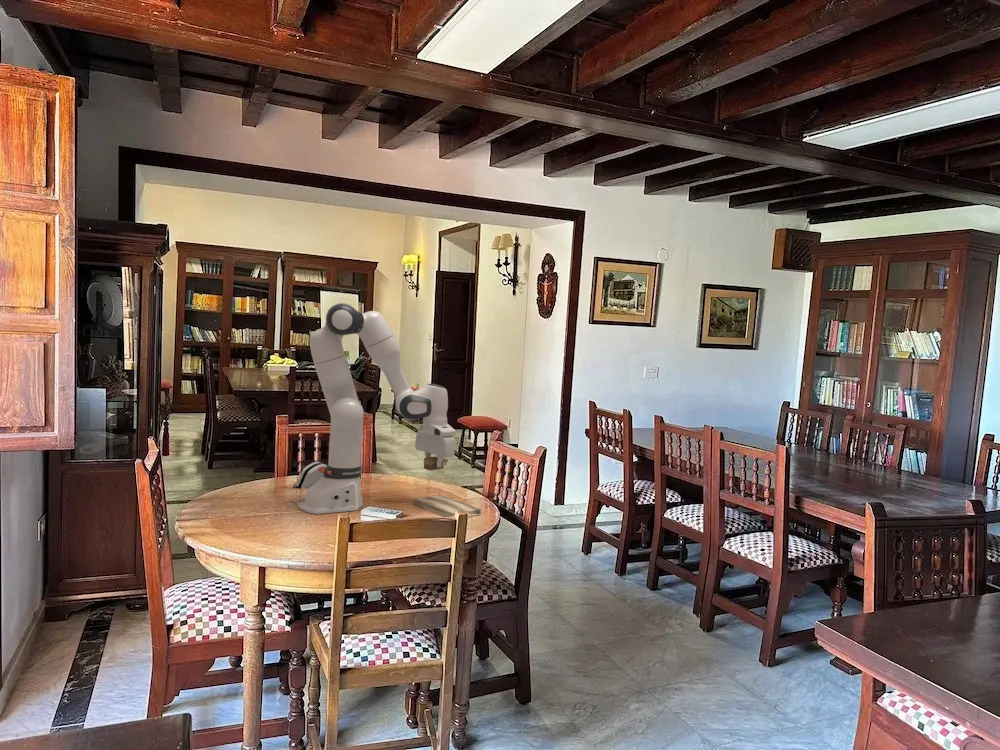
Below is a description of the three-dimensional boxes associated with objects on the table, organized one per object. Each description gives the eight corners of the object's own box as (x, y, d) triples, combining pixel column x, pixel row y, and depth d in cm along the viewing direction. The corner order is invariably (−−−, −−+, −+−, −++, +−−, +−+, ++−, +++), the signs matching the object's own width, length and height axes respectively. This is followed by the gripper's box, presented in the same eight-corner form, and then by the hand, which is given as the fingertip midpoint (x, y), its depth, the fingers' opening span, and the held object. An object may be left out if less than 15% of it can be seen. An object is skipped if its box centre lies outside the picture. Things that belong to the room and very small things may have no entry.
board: (453, 519, 229) (453, 513, 229) (413, 504, 247) (413, 498, 247) (480, 514, 237) (480, 509, 237) (439, 500, 255) (440, 494, 255)
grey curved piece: (313, 479, 280) (321, 457, 278) (323, 484, 279) (331, 462, 277) (291, 487, 264) (300, 464, 262) (301, 492, 263) (310, 469, 261)
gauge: (427, 470, 244) (428, 459, 244) (421, 468, 247) (421, 457, 247) (450, 467, 251) (450, 457, 250) (443, 466, 254) (444, 455, 253)
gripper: (411, 425, 253) (410, 461, 254) (444, 432, 238) (443, 471, 238) (425, 424, 257) (424, 460, 258) (458, 431, 242) (457, 469, 243)
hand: (433, 465), depth 248 cm, fingers closed on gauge, 4 cm apart
